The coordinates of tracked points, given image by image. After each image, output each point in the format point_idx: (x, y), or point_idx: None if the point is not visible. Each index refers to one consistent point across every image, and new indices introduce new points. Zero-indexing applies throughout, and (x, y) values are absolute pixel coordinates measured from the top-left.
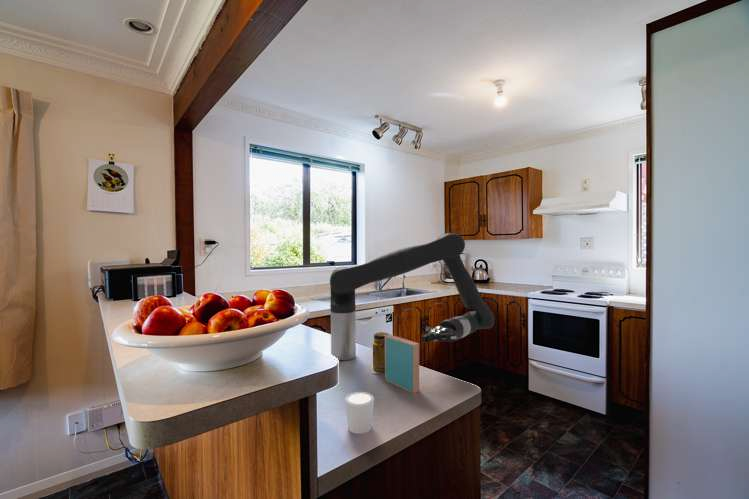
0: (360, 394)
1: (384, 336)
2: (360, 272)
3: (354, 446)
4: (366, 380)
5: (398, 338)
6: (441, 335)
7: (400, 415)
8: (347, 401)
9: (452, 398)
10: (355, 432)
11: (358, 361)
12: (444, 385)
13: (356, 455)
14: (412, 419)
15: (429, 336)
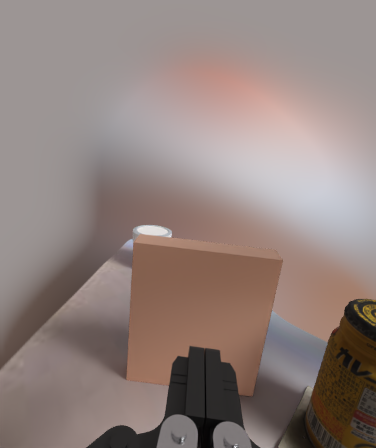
0: (159, 234)
1: (349, 306)
2: None
3: (131, 251)
4: (274, 350)
5: (222, 248)
6: (98, 446)
7: (115, 295)
8: (159, 226)
9: (7, 398)
10: None
11: None
12: None
13: (121, 247)
14: (90, 295)
15: (185, 382)
